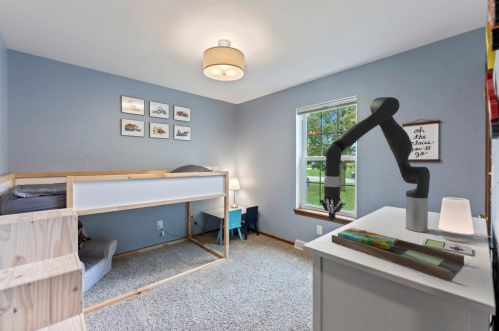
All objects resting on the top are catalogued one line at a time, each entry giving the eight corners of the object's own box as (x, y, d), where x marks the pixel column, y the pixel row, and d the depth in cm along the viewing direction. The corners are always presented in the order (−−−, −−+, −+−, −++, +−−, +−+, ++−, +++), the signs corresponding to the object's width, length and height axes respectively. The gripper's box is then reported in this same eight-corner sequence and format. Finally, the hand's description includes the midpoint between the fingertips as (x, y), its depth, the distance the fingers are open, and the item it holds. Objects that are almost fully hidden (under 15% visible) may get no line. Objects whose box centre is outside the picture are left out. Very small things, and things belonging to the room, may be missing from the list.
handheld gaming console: (472, 253, 83) (422, 243, 93) (472, 257, 83) (422, 246, 93) (471, 246, 90) (425, 237, 100) (471, 249, 90) (425, 240, 100)
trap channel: (353, 233, 109) (353, 227, 109) (464, 264, 77) (464, 255, 76) (331, 242, 98) (331, 235, 98) (449, 281, 66) (449, 271, 66)
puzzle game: (349, 226, 106) (397, 236, 91) (349, 235, 106) (397, 247, 91) (337, 231, 98) (388, 243, 83) (337, 241, 98) (388, 255, 83)
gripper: (349, 186, 105) (348, 222, 105) (325, 183, 116) (325, 216, 116) (340, 187, 100) (339, 224, 101) (316, 184, 111) (316, 218, 111)
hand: (331, 220), depth 108 cm, fingers closed
